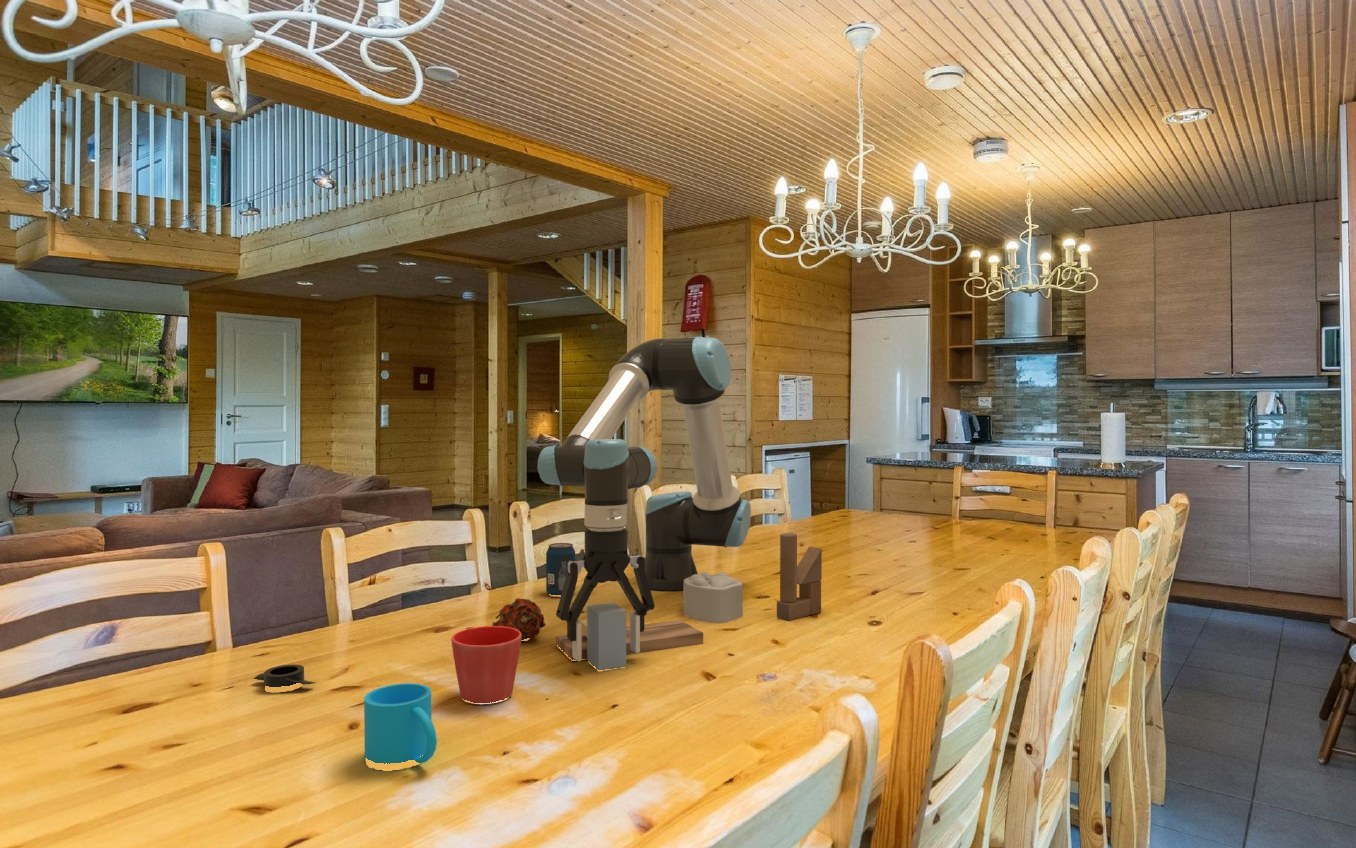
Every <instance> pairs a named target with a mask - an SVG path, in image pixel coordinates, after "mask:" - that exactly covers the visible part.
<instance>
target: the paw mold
mask: <svg viewBox="0 0 1356 848" xmlns="http://www.w3.org/2000/svg"><path fill="white" fill-rule="evenodd" d="M743 587H744V586H743V582H742V581H740V580H738V579H736V578H734V577H732V576H729V575H728V574H727V573H725V572H720V571H719V572H717V573H716V574H715V575H714V574H711V573H710V572H706V571H703V572H699V573H698V574H694V575H692V576H691V577H688V578H686V579H685V580H684V586H683V592H682V593H683V597H682V598H683V600H682V601H683V607H682V608H683V615H684V614H685V615H684V616H686V617H687V618H689V619H692V618H693V620H697V621H701V622H705V621H706V623H713V624H714V623H715V624H724V623H728V622H731V621H733V620H736V619H740V618H742V617H743V611H744V610H743V609H744V608H743V600H744V599H743V598H744V597H743V593H744V592H743V591H744V590H743Z"/></svg>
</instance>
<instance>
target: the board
mask: <svg viewBox="0 0 1356 848" xmlns="http://www.w3.org/2000/svg"><path fill="white" fill-rule="evenodd" d="M581 639H582V659H587V637H586V636H584V634H582V633H581ZM699 644H704V632H703V631H701V630H699V629H698V628H695V627H694V626H691V624H688V623H687V622H685V621H683V620H682V619H677V620H669V621H662V622H655V623H648V624H647V623H646V624H645V623H644V631H643V632H640V652H639V653H644V652H645V653H646V652H651V651H652V650H653V651H660V650H666V649H672V648H679V647H686V646H693V645H699ZM556 645H558V647H560V648H561V650H563V652H565V653H566V654H567V655H568V657H570V658H571V659H572V660H573V659H574V658H573V657H572V641H570V640H568V638H567V634H563V635H556V636H555V646H556ZM629 653H633V654H636V653H635V652H634V651H633V650H631V649H630V626H626V655H630V654H629ZM574 660H575V659H574Z"/></svg>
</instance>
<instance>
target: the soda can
mask: <svg viewBox="0 0 1356 848" xmlns="http://www.w3.org/2000/svg"><path fill="white" fill-rule="evenodd" d="M569 560H571V561H573V562H574V561H576V549H574V544H572V543H569V542H554V543H550V544H548V548H547V549H546V551H545V566H546V568H545V570H546V571H545V576H546V577H545V586H546V587H545V590H546V591H545V592H546V593H547V595H549V594H551V595H561V594H562V590H563V587H564V583H565V580H566V576H567V562H568V561H569ZM575 591H576V589H575V590H574V592H575Z"/></svg>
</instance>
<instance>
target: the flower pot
mask: <svg viewBox="0 0 1356 848" xmlns="http://www.w3.org/2000/svg"><path fill="white" fill-rule="evenodd" d="M521 637H522V634H521V632H520V631H519V630H517V629H514V628H511V627H504V626H492V625H485V626H477V627H475V626H474V627H470V628H466V629H462V630H459V631H457V632H455V633H454V634H453V635H452V636H451V648H452V655H453V660H454V661H453V662H454V667H455V673H456V679H457V684H458V688H459V693H460V698H463V699H464V700H467V701H470V702H473V703H490V702H491V703H492V702H496V701H499V700H504V699H505V698H508V697H509V696H510V695H511V694H512V695H513V691H514V685H515V680H516V679H515V678H516V673H517V669H518V661H519V658H520V652H521V651H520V650H521V644H522V641H521ZM512 695H511V696H512Z"/></svg>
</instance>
